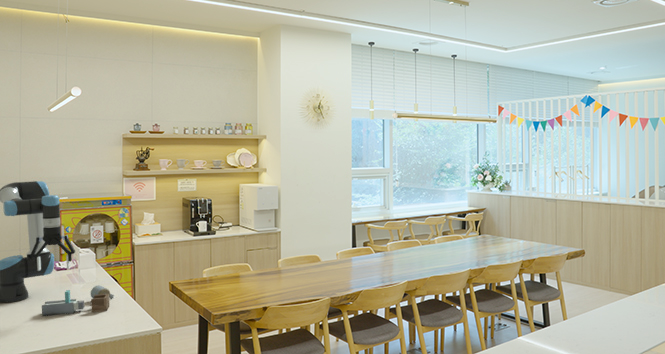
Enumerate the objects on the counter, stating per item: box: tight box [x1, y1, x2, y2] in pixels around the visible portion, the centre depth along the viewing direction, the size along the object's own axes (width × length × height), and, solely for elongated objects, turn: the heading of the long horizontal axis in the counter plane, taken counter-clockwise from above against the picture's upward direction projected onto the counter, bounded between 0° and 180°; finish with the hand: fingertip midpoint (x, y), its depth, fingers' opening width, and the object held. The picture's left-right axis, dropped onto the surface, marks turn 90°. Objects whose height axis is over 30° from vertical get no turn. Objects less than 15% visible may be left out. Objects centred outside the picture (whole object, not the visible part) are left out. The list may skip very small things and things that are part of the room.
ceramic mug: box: [90, 284, 115, 299], centre depth 266 cm, size 11×8×8 cm
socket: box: [90, 294, 110, 313], centre depth 250 cm, size 8×7×6 cm
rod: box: [43, 289, 85, 311], centre depth 245 cm, size 4×18×10 cm, turn 106°
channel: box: [41, 298, 77, 317], centre depth 245 cm, size 6×14×6 cm, turn 106°
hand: (53, 268), depth 243 cm, fingers open, 12 cm apart
